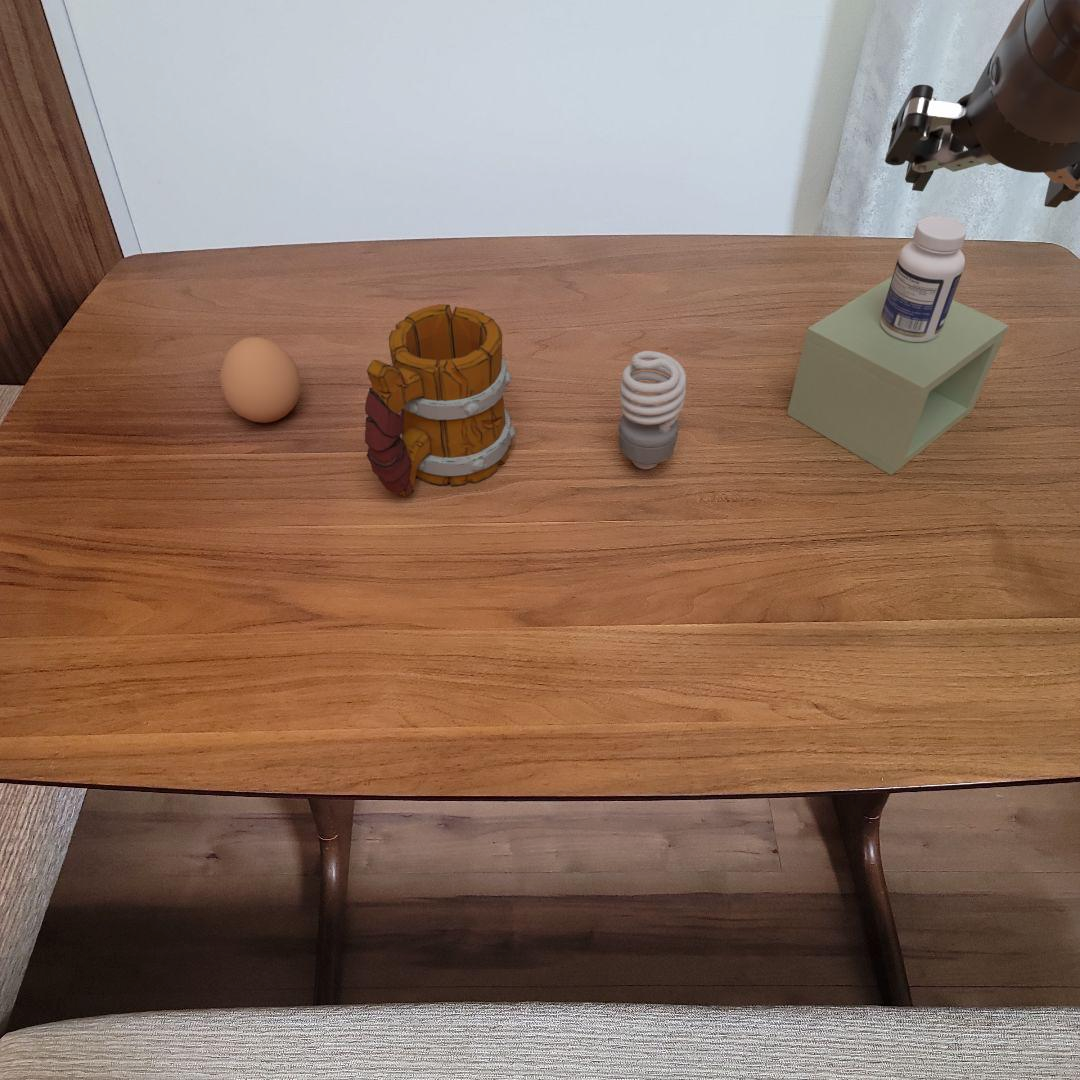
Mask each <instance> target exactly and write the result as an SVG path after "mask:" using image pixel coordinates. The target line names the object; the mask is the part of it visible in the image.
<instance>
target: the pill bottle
mask: <svg viewBox="0 0 1080 1080" xmlns="http://www.w3.org/2000/svg"><path fill="white" fill-rule="evenodd" d="M967 233H968V229H967V227H966V225H965V224H964V223H962V221H959V220H957V219H955V218H952V217H949V216H943V215H930V216H926V217H923V218H921V219H919V221H918V222H917V224H916V227H915V230H914V233H913V237H912V240H911V241H909V242H907V243H906V244H905V245H903V247H902V248H901V249H900V251H899V254H898V257H897V259H896V263H895V268H894V269H893V270H894V271H893V273H892V276H893V277H892V280H891V284H890V287H889V291H888V294H887V297H886V300H885V304H884V307H883V311H882V314H881V319H880V322H881V326H882V327H883V329H884V330H885V331H886V332H887V333H889V334H890V335H892V336H893V337H895V338H898V339H900V340H904V341H908V342H925V341H929V340H932V339H934V338H935V337H937V336H938V335H939V334H940V332H941V330H942V328H943V325H944V322H945V319H946V317H947V314H948V311H949V308H950V305H951V303H952V300H954V297H955V294H956V291H957V289H958V285H959V283H960V280H961V277H962V275H963V271H964V268H965V265H966V257H965V255H964V252H962V250H961V249H962V247H963V246H964V244H965V239H966V237H967Z"/></svg>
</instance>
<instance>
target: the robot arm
mask: <svg viewBox="0 0 1080 1080" xmlns="http://www.w3.org/2000/svg"><path fill="white" fill-rule="evenodd" d="M934 90H935V89H934V87H932V86H931V85H928V84H916V85H914V86H912V87H911V90H910V91H909V93H908V95H907V97H906V99H905V100H904V102H903V104H902V106H901V108H900V110H899V111H898V113H897V115H896V117H895V118H894V121H893V122H892V126H891V134H890V139H889V144H888V149H887V152H886V155H885V159H884V163H886V164H887V165H890V166H902V165H904V164H905V163H906V162H907V168H906V173H905V177H904V181H905V182H906V183H908V184H912V187H911V191H915V192H924V190H925V188H926V187H927V185H928V183H929V182H930V179H931V178H932V177H933V174H934V171H936V170H939V169H946V170H949V171H950V172H953V173H955V172H958V171H962V170H967V169H969V168H973V167H977V166H981V165H984V164H986V165H988V166H995V165H998V164H1002V165H1003V166H1005V167H1007V168H1010V169H1011V170H1015V171H1020V172H1025V173H1034V174H1036V173H1037V174H1039V173H1040V174H1041V173H1042V174H1043V173H1044V175H1046V177H1047V178H1049V181H1048V184H1047V189H1046V195H1045V198H1044V203H1043V205H1044V206H1043V207H1045V208H1046V207H1047V208H1058V207H1059V206H1060V205H1061V204H1062V203H1063V202H1067V203H1068V202H1070V201H1072V200H1074V199H1075V198H1076V197H1077V196H1078V195H1079V194H1080V0H1023V1H1022V3H1021V4H1020V6H1019V7H1018V9H1017V10H1016V11H1015V14H1013V16H1012V18H1011V20H1010V22H1009V23H1008V25H1007V27H1006V29H1005V31H1004V32H1003V35H1002V37H1001V39H1000V40H999V42H998V44H997V45H996V47H995V49H994V51H993V53H992V55H991V56H990V58H989V60H988V62H987V63H986V66H985V67H984V69H983V71H982V73H981V75H980V77H979V78H978V80H977V82H976V84H975V86H974V88H973V89H972V91H971V92H969V93H967V94H965V95H964V96H962V97H960V99H958V100H957V102H951V101H943V100H937V98H936V97H933V95H934ZM940 143H941V144H940ZM965 148H966V149H965ZM964 149H965V150H964Z"/></svg>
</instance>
